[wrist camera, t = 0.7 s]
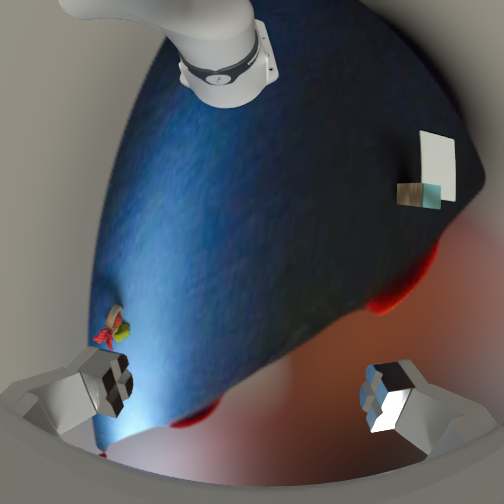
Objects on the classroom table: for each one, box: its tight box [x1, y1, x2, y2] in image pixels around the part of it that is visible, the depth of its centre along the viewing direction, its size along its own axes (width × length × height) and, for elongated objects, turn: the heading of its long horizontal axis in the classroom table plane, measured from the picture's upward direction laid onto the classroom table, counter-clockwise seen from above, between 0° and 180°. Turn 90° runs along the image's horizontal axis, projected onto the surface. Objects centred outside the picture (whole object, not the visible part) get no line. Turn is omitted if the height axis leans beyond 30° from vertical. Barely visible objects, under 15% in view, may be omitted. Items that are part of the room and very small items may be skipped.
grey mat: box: [419, 131, 455, 201], centre depth 45 cm, size 14×10×1 cm
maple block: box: [397, 183, 441, 209], centre depth 42 cm, size 4×4×10 cm
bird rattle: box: [93, 304, 130, 350], centre depth 50 cm, size 6×11×9 cm
